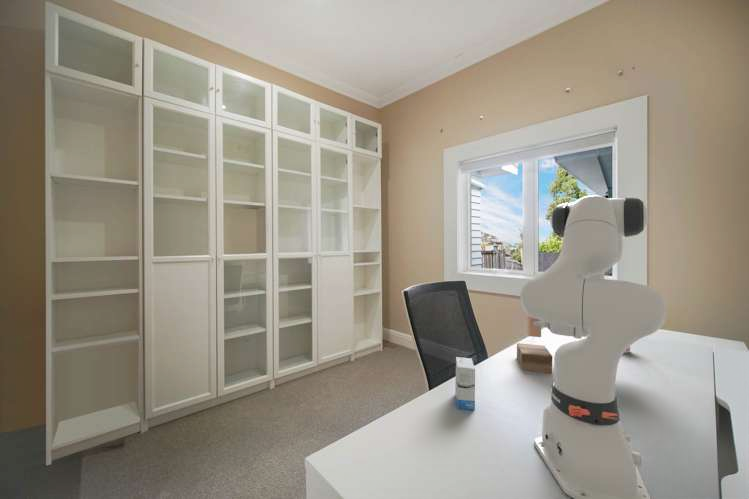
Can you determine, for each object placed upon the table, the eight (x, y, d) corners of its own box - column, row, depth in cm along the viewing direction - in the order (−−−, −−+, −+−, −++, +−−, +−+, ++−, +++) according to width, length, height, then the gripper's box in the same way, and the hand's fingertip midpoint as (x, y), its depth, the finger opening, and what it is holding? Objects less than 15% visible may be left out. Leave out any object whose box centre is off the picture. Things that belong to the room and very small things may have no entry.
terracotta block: (541, 337, 114) (541, 308, 114) (529, 336, 115) (529, 307, 115) (538, 334, 118) (539, 306, 117) (527, 333, 119) (527, 305, 119)
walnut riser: (552, 372, 109) (552, 356, 109) (521, 369, 112) (522, 353, 112) (544, 360, 121) (544, 345, 121) (516, 357, 124) (517, 343, 124)
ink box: (475, 410, 84) (475, 368, 84) (456, 408, 85) (457, 367, 85) (471, 395, 92) (472, 357, 92) (455, 394, 93) (455, 356, 93)
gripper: (564, 309, 122) (526, 307, 126) (582, 321, 103) (537, 318, 107) (564, 324, 122) (526, 322, 126) (582, 340, 103) (537, 336, 107)
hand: (531, 320), depth 116 cm, fingers closed on terracotta block, 4 cm apart
